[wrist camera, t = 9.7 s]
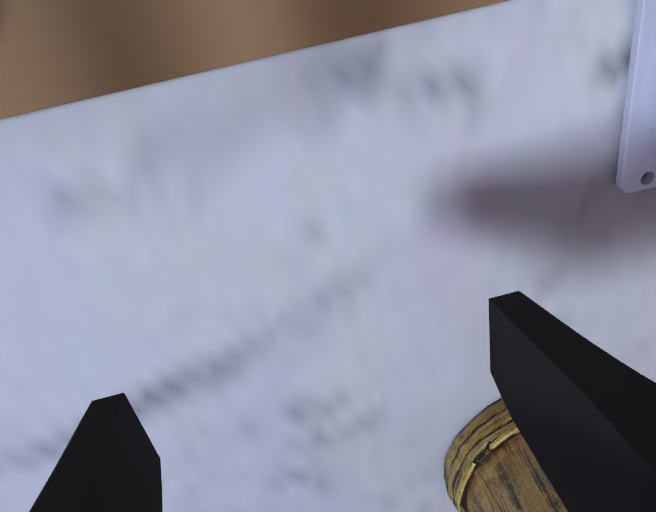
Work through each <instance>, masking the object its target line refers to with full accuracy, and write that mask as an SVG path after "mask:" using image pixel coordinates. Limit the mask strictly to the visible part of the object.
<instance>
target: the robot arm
mask: <svg viewBox="0 0 656 512" xmlns="http://www.w3.org/2000/svg"><path fill="white" fill-rule="evenodd" d="M647 172H648V173H647ZM645 173H647V175H646V176H645V177H644V178H643V179H641V178H642V176H643V175H644V174H645ZM616 185H617V187H618V188H619V189H620V190H622V191H623V192H625V193H634V192H638V191H642V190H646V189H650V188H654V187H656V0H637V5H636V14H635V22H634V30H633V39H632V47H631V56H630V64H629V73H628V81H627V90H626V98H625V107H624V115H623V124H622V132H621V140H620V149H619V157H618V166H617V174H616ZM489 329H490V370H491V374H492V376H493V378H494V381H495V383H496V385H497V387H498V390H499V392H500V394H501V397H502V399H503V401H504V403H505V405H506V407H507V409H508V412H509V414H510V416H511V418H512V420H513V421H514V423H515V425H516V426H517V428H518V430H519V431H520V433H521V435H522V436H523V438H524V440H525V441H526V443H527V445H528V446H529V448H530V450H531V451H532V453H533V455H534V456H535V458H536V460H537V461H538V463H539V465H540V466H541V468H542V470H543V471H544V473H545V475H546V476H547V478H548V480H549V481H550V483H551V484H552V486H553V488H554V489H555V491H556V493H557V494H558V496H559V498H560V499H561V501H562V503H563V504H564V506H565V508H566V509H567V511H568V512H656V383H655V382H653V381H651V380H650V379H648V378H646V377H645V376H643V375H641V374H640V373H638V372H636V371H635V370H633V369H632V368H630V367H628V366H627V365H625V364H624V363H622V362H620V361H619V360H617V359H616V358H614V357H613V356H611V355H610V354H608V353H607V352H605V351H604V350H602V349H601V348H599V347H598V346H596V345H595V344H593V343H592V342H590V341H589V340H587V339H586V338H584V337H583V336H581V335H580V334H578V333H577V332H576V331H574V330H573V329H571V328H570V327H569V326H567V325H566V324H564V323H563V322H561V321H560V320H559V319H557V318H556V317H554V316H553V315H552V314H550V313H549V312H548V311H546V310H545V309H543V308H542V307H541V306H539V305H538V304H537V303H535V302H534V301H532V300H531V299H530V298H528V297H527V296H525V295H524V294H523V293H521V292H519V291H517V292H513V293H509V294H505V295H501V296H498V297H494V298H490V299H489ZM29 512H162V482H161V464H160V457H159V455H158V454H157V452H156V450H155V448H154V446H153V445H152V443H151V441H150V439H149V437H148V435H147V434H146V432H145V430H144V428H143V426H142V425H141V423H140V421H139V419H138V417H137V415H136V414H135V412H134V410H133V408H132V406H131V405H130V403H129V401H128V399H127V397H126V395H125V394H124V393H121V394H117V395H113V396H110V397H106V398H102V399H98V400H94V401H92V402H91V404H90V405H89V407H88V409H87V411H86V412H85V414H84V416H83V418H82V420H81V421H80V423H79V425H78V427H77V429H76V430H75V432H74V434H73V436H72V438H71V440H70V441H69V443H68V445H67V447H66V449H65V451H64V452H63V454H62V456H61V458H60V459H59V461H58V463H57V465H56V467H55V468H54V470H53V472H52V474H51V475H50V477H49V479H48V481H47V482H46V484H45V486H44V487H43V489H42V491H41V493H40V494H39V496H38V498H37V499H36V501H35V503H34V505H33V506H32V508H31V510H30V511H29Z"/></svg>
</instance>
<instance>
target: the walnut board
mask: <svg viewBox="0 0 656 512" xmlns="http://www.w3.org/2000/svg"><path fill="white" fill-rule="evenodd" d="M504 1H508V0H0V119H3V118H8V117H12V116H16V115H21V114H25V113H29V112H33V111H38V110H42V109H46V108H50V107H55V106H59V105H63V104H68V103H72V102H76V101H80V100H85V99H89V98H93V97H98V96H102V95H106V94H110V93H115V92H119V91H123V90H127V89H132V88H136V87H140V86H145V85H149V84H153V83H157V82H162V81H166V80H170V79H175V78H179V77H183V76H187V75H192V74H196V73H200V72H205V71H209V70H213V69H217V68H222V67H226V66H230V65H234V64H239V63H243V62H247V61H252V60H256V59H260V58H264V57H269V56H273V55H277V54H282V53H286V52H290V51H294V50H299V49H303V48H307V47H311V46H316V45H320V44H324V43H329V42H333V41H337V40H341V39H346V38H350V37H354V36H359V35H363V34H367V33H371V32H376V31H380V30H384V29H388V28H393V27H397V26H401V25H406V24H410V23H414V22H418V21H423V20H427V19H431V18H436V17H440V16H444V15H448V14H453V13H457V12H461V11H466V10H470V9H474V8H478V7H483V6H487V5H491V4H495V3H500V2H504Z"/></svg>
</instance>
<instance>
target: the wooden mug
mask: <svg viewBox="0 0 656 512" xmlns="http://www.w3.org/2000/svg"><path fill="white" fill-rule="evenodd" d="M444 479H445V483H446V488H447V492H448V496H449V497H450V499H451V500H452V502H453V504H454V505H455V507H456V508H457V510H458V512H568V511H567V509H566V508H565V506H564V504H563V503H562V501H561V499H560V498H559V496H558V494H557V493H556V491H555V489H554V488H553V486H552V484H551V483H550V481H549V480H548V478H547V476H546V475H545V473H544V471H543V470H542V468H541V466H540V465H539V463H538V461H537V460H536V458H535V456H534V455H533V453H532V451H531V450H530V448H529V446H528V445H527V443H526V441H525V440H524V438H523V436H522V435H521V433H520V431H519V430H518V428H517V426H516V425H515V423H514V421H513V420H512V418H511V416H510V414H509V412H508V409H507V407H506V405H505V403H504V401H503V399H501V400H499V401H497V402H496V403H494V404H492V405H491V406H489V407H487V408H486V409H485V410H484V411H482V412H481V413H480V414H479V415H478V416H477V417H476V418H475V419H473V420H472V421H471V422H470V423H469V424H468V425H467V426H466V427H465V428H464V429H463V430H462V431H461V432H460V433H459V434H458V435H457V436H456V437H455V438H454V440H453V442H452V444H451V446H450V448H449V450H448V452H447V454H446V456H445V462H444Z"/></svg>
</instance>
